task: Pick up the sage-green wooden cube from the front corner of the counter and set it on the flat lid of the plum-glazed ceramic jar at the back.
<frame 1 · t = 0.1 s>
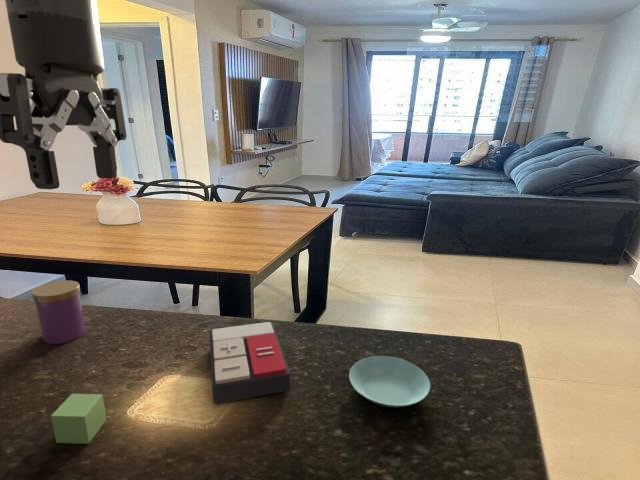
hand: (80, 182, 42), 31 cm above the kitchen counter, tool pointing down, fingers open, 8 cm apart
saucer: (387, 391, 57), on the kitchen counter
jar: (64, 334, 70), on the kitchen counter
cube: (82, 431, 48), on the kitchen counter
calculator: (247, 369, 61), on the kitchen counter, touching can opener
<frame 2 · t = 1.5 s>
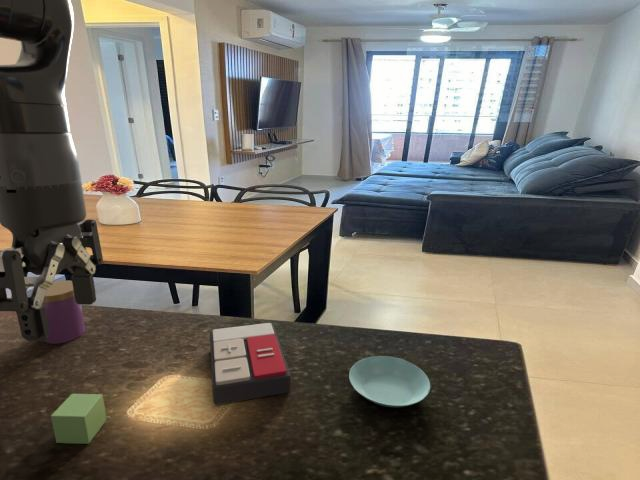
hand: (64, 319, 44), 16 cm above the kitchen counter, tool pointing down, fingers open, 8 cm apart
nothing on the kitchen counter moved.
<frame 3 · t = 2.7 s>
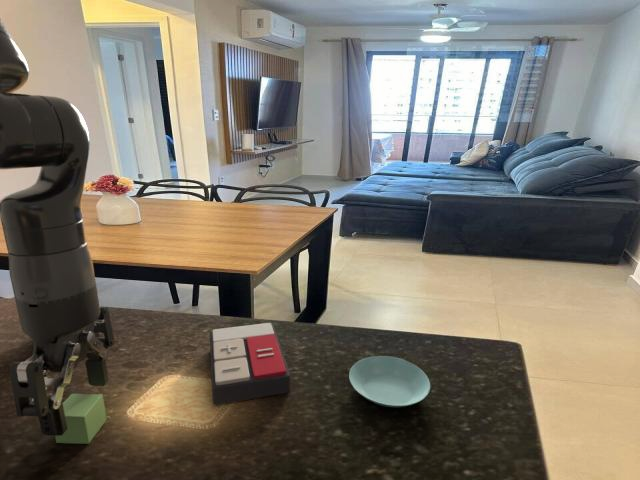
hand: (79, 406, 47), 4 cm above the kitchen counter, tool pointing down, fingers open, 8 cm apart
nothing on the kitchen counter moved.
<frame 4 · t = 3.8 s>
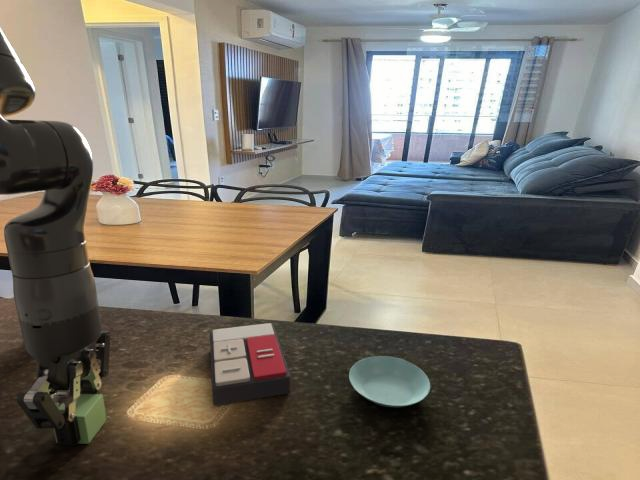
hand: (81, 428, 48), 0 cm above the kitchen counter, tool pointing down, fingers closed on cube, 4 cm apart
cube: (82, 431, 48), on the kitchen counter, touching gripper
everything else where it was.
when the fingers open (10 cm above the kitchen counter, at t = 11.6 s): cube stays where it is, resting on jar.
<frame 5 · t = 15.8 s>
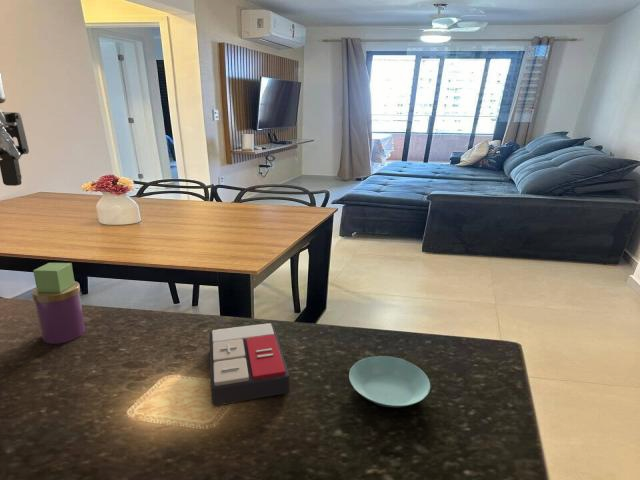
jar: (64, 334, 70), on the kitchen counter, touching cube
cube: (56, 287, 67), point 9 cm above the kitchen counter, touching jar
calculator: (246, 370, 61), on the kitchen counter, touching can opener
everything else where it was.
at the end: cube 0.1 cm off-centre on the jar, point 9.2 cm above the jar's base; cube tilted 0°; jar tilted 0° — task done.
